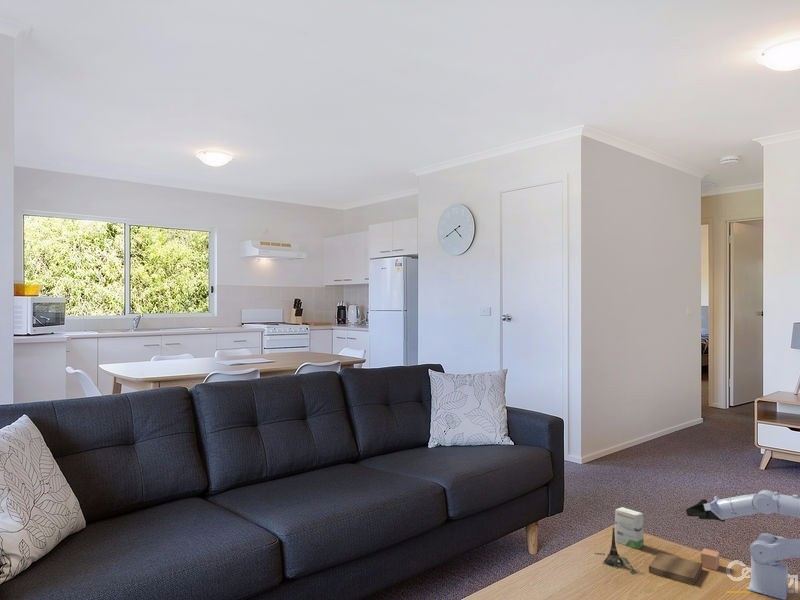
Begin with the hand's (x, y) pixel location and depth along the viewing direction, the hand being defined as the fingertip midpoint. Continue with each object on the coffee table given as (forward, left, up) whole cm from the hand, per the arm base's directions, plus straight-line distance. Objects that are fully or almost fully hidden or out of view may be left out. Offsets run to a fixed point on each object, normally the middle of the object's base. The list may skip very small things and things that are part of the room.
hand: (692, 514), depth 188 cm
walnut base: (+4, +7, -17) cm, 19 cm away
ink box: (+22, -5, -18) cm, 28 cm away
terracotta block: (-4, -4, -17) cm, 18 cm away
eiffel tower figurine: (+21, +13, -18) cm, 31 cm away
